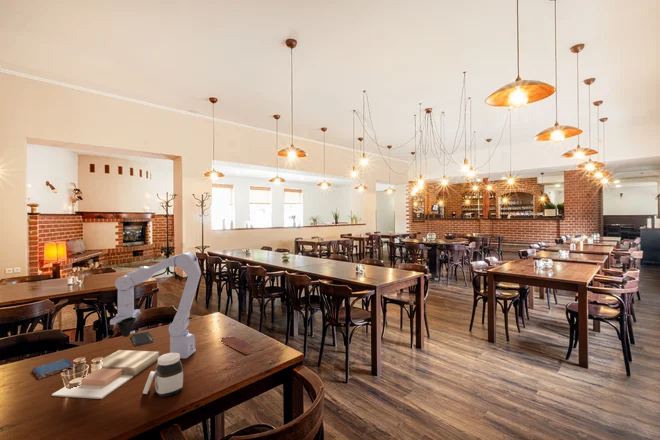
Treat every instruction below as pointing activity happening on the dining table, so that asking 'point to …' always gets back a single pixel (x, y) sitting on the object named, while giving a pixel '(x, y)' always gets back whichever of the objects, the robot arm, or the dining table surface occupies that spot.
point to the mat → (92, 389)
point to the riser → (130, 361)
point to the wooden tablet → (237, 344)
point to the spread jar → (166, 375)
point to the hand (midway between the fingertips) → (126, 336)
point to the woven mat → (51, 368)
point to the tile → (101, 377)
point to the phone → (141, 338)
